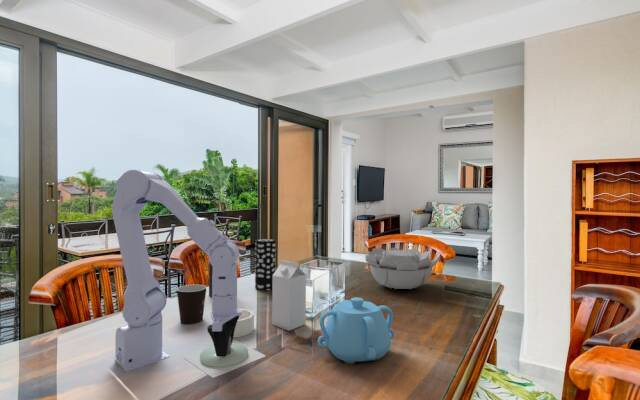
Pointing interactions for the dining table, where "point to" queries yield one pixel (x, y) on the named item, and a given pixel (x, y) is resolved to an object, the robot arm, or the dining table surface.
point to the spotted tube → (264, 263)
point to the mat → (215, 372)
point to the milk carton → (288, 296)
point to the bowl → (244, 323)
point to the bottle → (210, 279)
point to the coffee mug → (191, 303)
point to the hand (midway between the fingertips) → (224, 350)
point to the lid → (233, 356)
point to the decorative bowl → (400, 267)
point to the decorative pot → (357, 330)
